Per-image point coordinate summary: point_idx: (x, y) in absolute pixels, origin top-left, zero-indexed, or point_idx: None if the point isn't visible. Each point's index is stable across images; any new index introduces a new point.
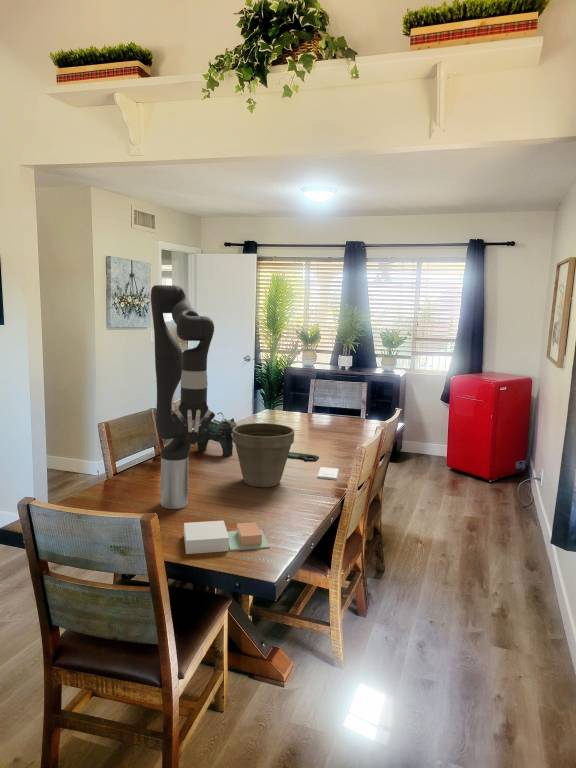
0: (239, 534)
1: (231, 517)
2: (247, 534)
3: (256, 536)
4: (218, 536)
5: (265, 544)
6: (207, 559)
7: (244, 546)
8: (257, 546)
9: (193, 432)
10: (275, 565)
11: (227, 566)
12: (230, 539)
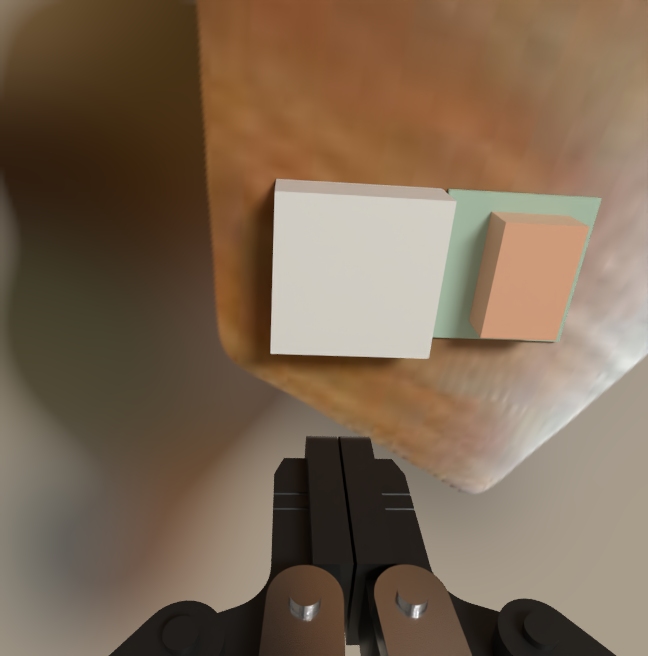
0: (485, 284)
1: (533, 14)
2: (506, 327)
3: (533, 338)
4: (393, 342)
5: None
6: (337, 372)
7: None
8: None
9: (347, 640)
10: (521, 436)
11: (387, 419)
12: (448, 264)
